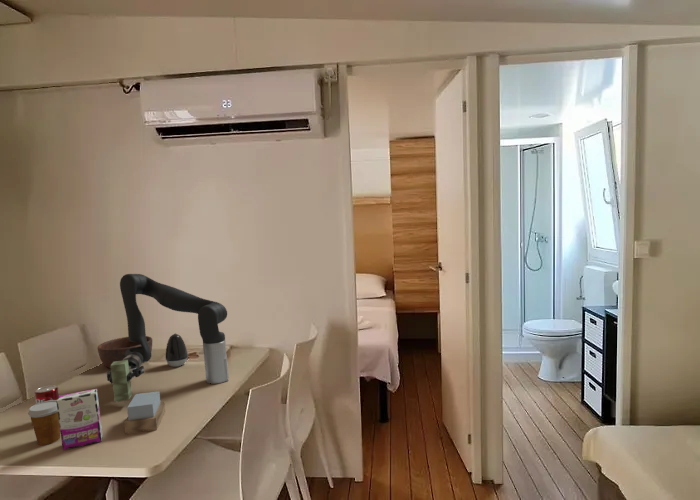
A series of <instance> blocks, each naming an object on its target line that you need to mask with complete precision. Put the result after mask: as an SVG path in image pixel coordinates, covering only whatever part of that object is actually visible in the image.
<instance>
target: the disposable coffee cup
mask: <svg viewBox="0 0 700 500" xmlns="http://www.w3.org/2000/svg"><path fill="white" fill-rule="evenodd" d="M56 401H57V400H50V401H45V402H41V403H38V404H36V403H35V404H34V405H32V406H30V407H29V408H28V412H27V415H28V416H29V418H30V421H31V424H32V427H33V431H34V435H35V439H36V443H37V444H38V445H39V446H46V445H51V444H54V443H56V442H58V441H59V440H60V439H61V432H60V425H59V417H58V409H57V402H56Z"/></svg>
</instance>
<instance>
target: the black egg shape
mask: <svg viewBox="0 0 700 500" xmlns="http://www.w3.org/2000/svg"><path fill="white" fill-rule="evenodd" d="M188 357H189V353H188V349H187V346H186V343H185V341H184V339H183V337H182V336H181V335H179V334H177V333H174V334H171V335H170V336H169V338H168V340H167V343H166V347H165V357H164V358H165V361H166V363H167V364H168V366H170V367H172V368H177V367H181V365H182V366H184V365H185V364H184V363H185V362H186V363H187V361H188Z"/></svg>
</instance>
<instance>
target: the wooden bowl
mask: <svg viewBox="0 0 700 500" xmlns="http://www.w3.org/2000/svg"><path fill="white" fill-rule="evenodd" d="M146 339H147V342H148V345H149V348H150V350H151V352H153V351H152V350H153V338H152V337H151V336H148V335H146ZM140 346H141V344H140V343H139V342H131V341H129V337H128V336H125V337H119V338H114V339H111V340H107V341H104V342H102V343H100V344H99V345H98V346H97V349H96V350H97V353H98V356H99V360H100V361H101V362H102V364H103V365H104V366H105V367H106V368H109V369H111V364H112V363H113V362H115V361H122V360H123V359H124V358H125V353H126V350H127V349H129V348H132V347H140Z"/></svg>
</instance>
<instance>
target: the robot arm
mask: <svg viewBox="0 0 700 500" xmlns="http://www.w3.org/2000/svg"><path fill="white" fill-rule="evenodd" d="M119 288H120V293H121V297H122V303H123V305H124V310H125V314H126V315H125V316H126V320H127V321H126V322H127V334H128V336H127V337H129V341H131V342H139V343H140V344H141V346H140V347H132V348H129V349H127V350H126V353H125V358H124V359H123V360H128V365H129V373H128V375H127V381H130V382H131V380H132V379H133V378H134V377H135V378H139V377H140V376H141V375H143V374H145V367H144V365H143V363H147V362H149V361H150V360H151V358H152V351H151V350H150V348H149V345H148V342H147V339H146V336H147V335H146V324H145V323H146V322H145V319H144V316H143V314H142V312H141V311H140V308H139V306H138V303H137V295H142V296H146V297H149V298H153V299H154V300H156V301H157V303H158V304H159V305H161V306H162V307H164V308H167V309H170V310H172V311H175V312H180V313H191V314H192V313H193V314H197V321H198V330H199V335H200V337H201V339H202V348H203V358H204V369H205V371H204V372H205V382H206V383H207V384H210V383H211V385H215V384H221V383H224V382H228V381H229V379H230V377H229V365H228V356H227V347H226V334H225V332H222V331H220V329H219V324H221V323H222V322H224V321H225V320H226V319H227V317H228V311H227V308H226V306H225V305H223V304H222V303H220V302H218V301H213V300H209V299H205V298H202V297H200V296H197V295H194V294H193V293H189V292H187V291H184V290H181V289H180V288H176V287H174V286H171V285H167V284H163V283H161V282H158V281H157V280H154V279H152V278H150V277H148V276H147V275H144V274H141V273H126V274H124V275H122V277H121V278H120V281H119ZM123 360H122V361H123ZM106 378H107V379H106V380H107V381H108V382H109V383H110V384H112V385H113V383H112V375H111V369H110V370H106Z"/></svg>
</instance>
